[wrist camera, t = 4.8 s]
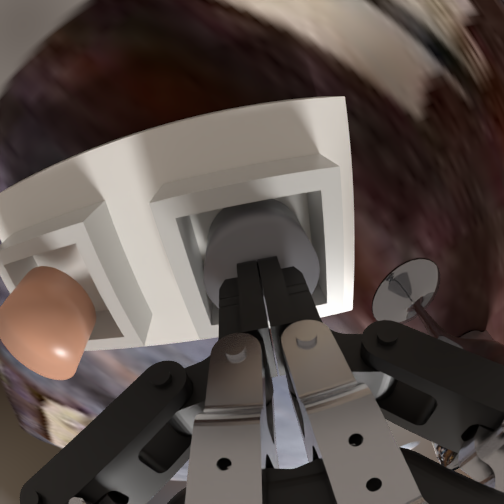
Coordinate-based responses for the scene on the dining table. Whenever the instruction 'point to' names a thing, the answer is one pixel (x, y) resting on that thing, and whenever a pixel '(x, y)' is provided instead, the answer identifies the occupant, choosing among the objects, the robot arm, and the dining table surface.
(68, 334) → the terracotta button
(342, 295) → the console
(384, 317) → the wine glass
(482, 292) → the dining table surface
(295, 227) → the charcoal button
